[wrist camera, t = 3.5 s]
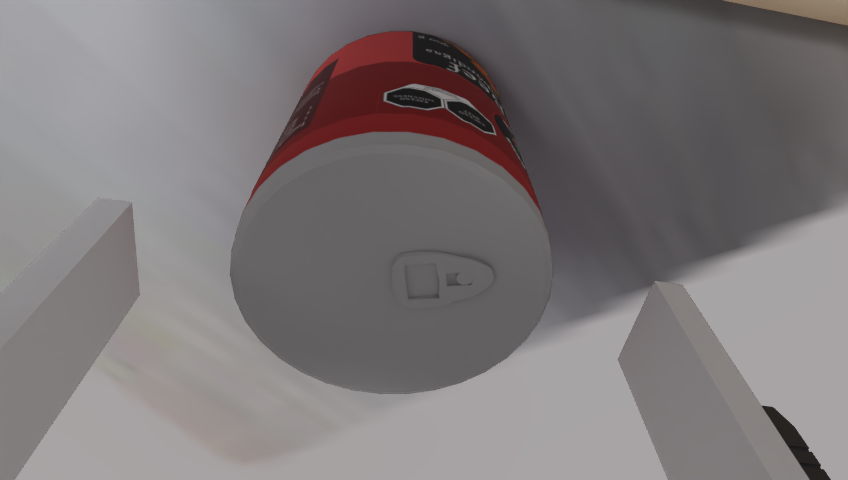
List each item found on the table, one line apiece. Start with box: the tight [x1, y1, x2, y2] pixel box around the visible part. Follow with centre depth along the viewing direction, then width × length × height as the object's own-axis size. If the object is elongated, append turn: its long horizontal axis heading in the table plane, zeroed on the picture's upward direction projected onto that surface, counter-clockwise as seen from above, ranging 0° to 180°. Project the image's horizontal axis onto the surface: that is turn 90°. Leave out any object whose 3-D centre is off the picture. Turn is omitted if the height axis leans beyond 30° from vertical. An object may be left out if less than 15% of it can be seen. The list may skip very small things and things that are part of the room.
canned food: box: [230, 32, 553, 394], centre depth 19 cm, size 8×8×11 cm
